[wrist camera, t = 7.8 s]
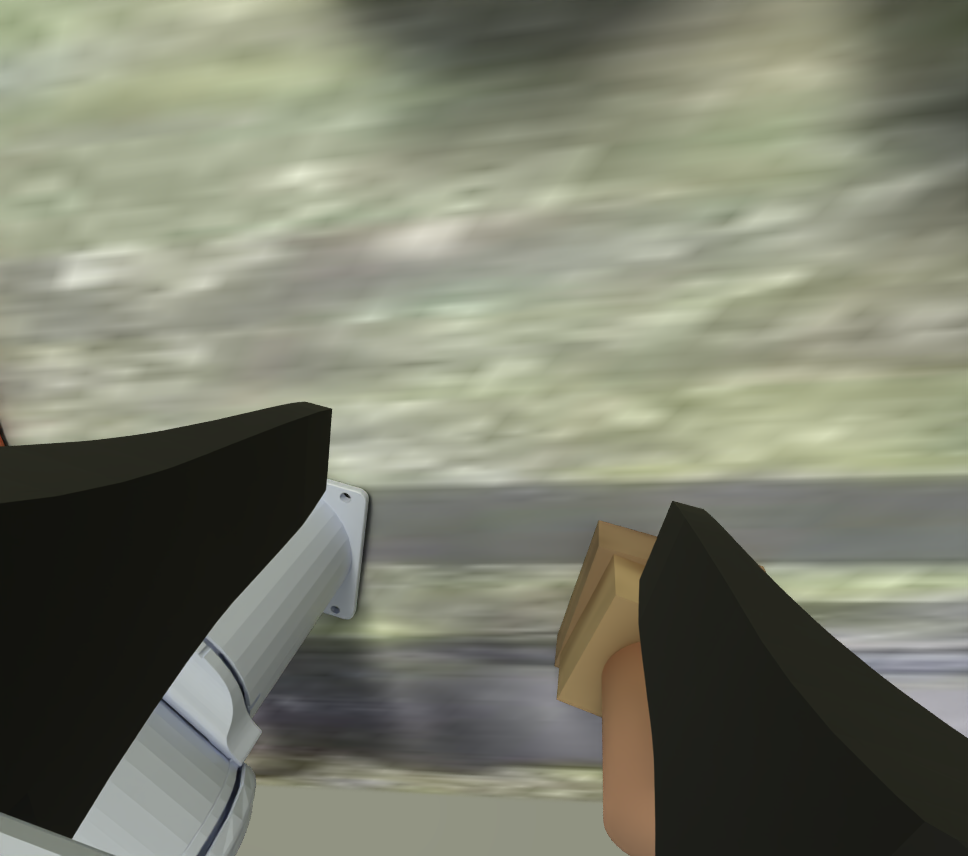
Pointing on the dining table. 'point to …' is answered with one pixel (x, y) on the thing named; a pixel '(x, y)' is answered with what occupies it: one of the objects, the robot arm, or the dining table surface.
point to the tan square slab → (602, 569)
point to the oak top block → (600, 635)
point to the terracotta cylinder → (627, 754)
